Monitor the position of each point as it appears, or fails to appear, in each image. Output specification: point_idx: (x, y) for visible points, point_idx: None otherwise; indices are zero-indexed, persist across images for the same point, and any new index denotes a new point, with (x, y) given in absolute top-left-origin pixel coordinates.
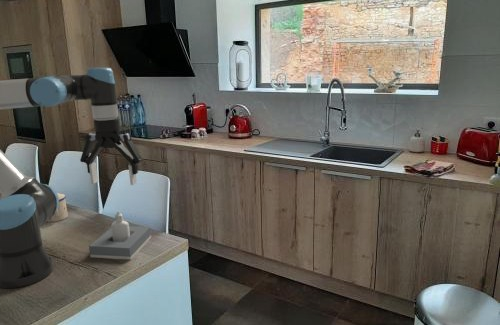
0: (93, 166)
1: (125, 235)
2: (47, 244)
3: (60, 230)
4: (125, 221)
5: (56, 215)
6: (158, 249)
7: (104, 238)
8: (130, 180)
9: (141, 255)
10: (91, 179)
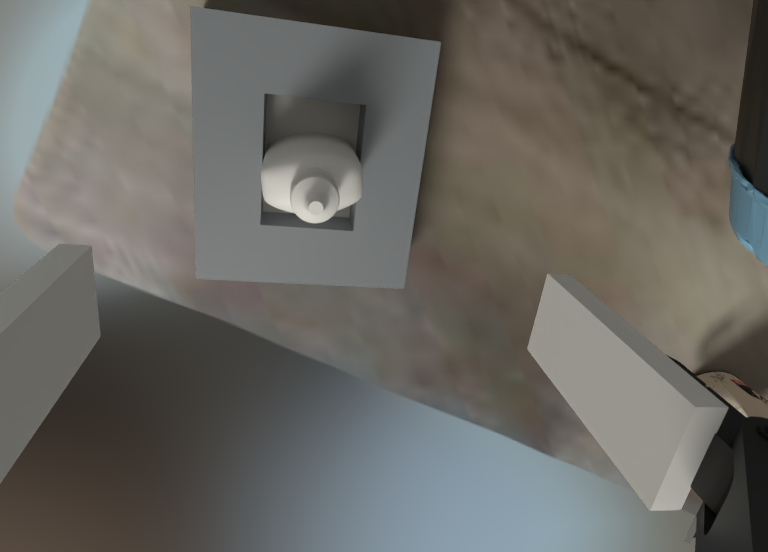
0: (647, 425)
1: (276, 149)
2: (666, 174)
3: (651, 304)
4: (278, 197)
5: (707, 381)
6: (104, 128)
7: (391, 136)
8: (60, 266)
9: (166, 60)
10: (590, 295)
